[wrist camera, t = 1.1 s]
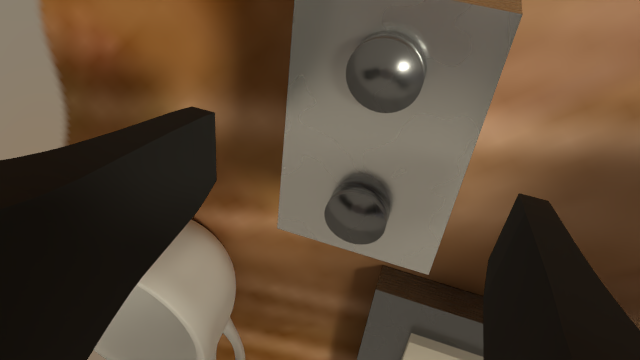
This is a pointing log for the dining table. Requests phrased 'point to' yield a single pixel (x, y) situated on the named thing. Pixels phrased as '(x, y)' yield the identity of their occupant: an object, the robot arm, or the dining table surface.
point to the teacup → (178, 305)
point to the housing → (387, 118)
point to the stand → (422, 321)
